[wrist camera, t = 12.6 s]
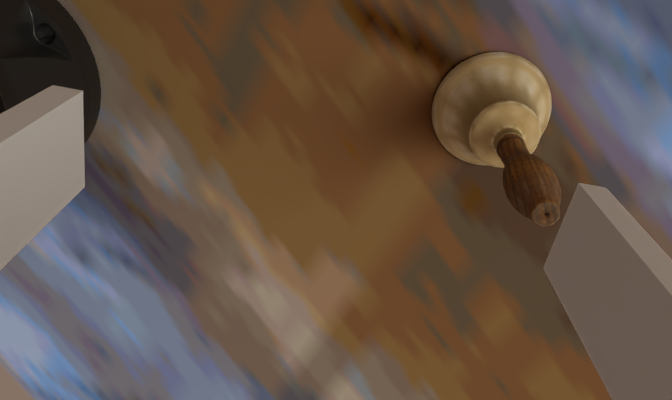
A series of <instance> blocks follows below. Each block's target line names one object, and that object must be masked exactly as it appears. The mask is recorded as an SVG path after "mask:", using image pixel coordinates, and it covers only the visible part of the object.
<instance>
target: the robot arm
mask: <svg viewBox="0 0 672 400" xmlns="http://www.w3.org/2000/svg"><path fill="white" fill-rule="evenodd" d="M100 101H101V88H100V79H99V73H98V69H97V65H96V62H95V59H94V56H93V53H92V51H91V48H90V46H89V44H88V42H87V40H86V38H85V36H84V35H83V33H82V31H81V30H80V28H79V26H78V25H77V23H76V22H75V21H74V19H73V18H72V17H71V15H70V14H69V13H68V12H67V11H66V10H65V8H64V7H63V6H62V5H61V4H60V3H59V2H58V1H57V0H0V270H1V269H2V268H3V267H4V266H5V265H6V264H7V263H8V262H9V261H10V260H11V259H12V258H13V257H14V256H15V255H16V254H17V253H18V252H19V251H20V250H21V249H22V248H23V247H24V246H25V245H26V244H27V243H28V242H29V241H30V240H31V239H32V238H33V237H34V236H35V235H36V234H37V233H38V232H39V231H41V230H42V229H43V228H44V227H45V226H46V225H47V224H48V223H49V222H50V221H51V220H52V219H53V218H54V217H55V216H56V215H57V214H58V213H59V212H60V211H61V210H62V209H63V208H64V207H65V206H66V205H67V204H68V203H69V202H70V201H71V200H72V199H73V198H74V197H75V196H76V195H77V194H78V193H79V192H80V191H81V190H82V189H83V188H84V187H85V169H84V144H85V142H86V141H87V140H88V138H89V137H90V135H91V133H92V131H93V129H94V127H95V124H96V122H97V118H98V114H99V109H100ZM543 269H544V271H545V273H546V275H547V277H548V278H549V280H550V282H551V284H552V286H553V288H554V290H555V292H556V294H557V296H558V297H559V299H560V301H561V303H562V305H563V307H564V309H565V311H566V313H567V315H568V317H569V318H570V320H571V322H572V324H573V326H574V328H575V330H576V332H577V334H578V336H579V338H580V339H581V341H582V343H583V345H584V347H585V349H586V351H587V353H588V355H589V357H590V358H591V360H592V362H593V364H594V366H595V368H596V370H597V372H598V374H599V376H600V378H601V379H602V381H603V383H604V385H605V387H606V389H607V391H608V393H609V395H610V397H611V398H612V400H672V259H671V258H670V257H669V256H668V255H667V254H666V253H665V252H664V251H663V250H662V249H661V247H660V246H659V245H658V244H657V243H656V242H655V241H654V240H653V239H652V238H651V236H650V235H649V234H648V233H647V232H646V231H645V230H644V229H643V228H642V227H641V226H640V224H639V223H638V222H637V221H636V220H635V219H634V218H633V217H632V216H631V215H630V213H629V212H628V211H627V210H626V209H625V208H624V207H623V206H622V205H621V204H620V202H619V201H618V200H617V199H616V198H615V197H614V196H613V195H612V194H611V193H610V192H609V190H608V189H607V188H604V187H598V186H593V185H588V184H582V183H578V185H577V188H576V190H575V193H574V195H573V197H572V200H571V202H570V205H569V207H568V209H567V212H566V214H565V217H564V219H563V221H562V224H561V226H560V229H559V231H558V233H557V236H556V238H555V241H554V243H553V246H552V248H551V250H550V253H549V255H548V258H547V260H546V262H545V265H544V267H543Z"/></svg>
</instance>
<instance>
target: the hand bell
mask: <svg viewBox="0 0 672 400" xmlns="http://www.w3.org/2000/svg"><path fill="white" fill-rule="evenodd" d="M551 107H552V98H551V92H550V88H549V86H548V83H547V81H546V79H545V77H544V75H543V74H542V73H541V72H540V70H539V69H538V68H537V67H536V66H535V65H534V64H533V63H531V62H530V61H528V60H527V59H525V58H523V57H521V56H518V55H515V54H511V53H507V52H488V53H483V54H479V55H476V56H473V57H471V58H469V59H467V60H465V61H463V62H461V63H460V64H458V65H457V66H456V67H455V68H454V69H452V70H451V71H450V72H449V73H448V74H447V76H446V77H445V78H444V79H443V81H442V82H441V84H440V85H439V87H438V89H437V92H436V94H435V97H434V100H433V104H432V123H433V128H434V131H435V133H436V135H437V138H438V139H439V141H440V143H441V144H442V145H443V146H444V148H445V149H446V150H447V151H448V152H449V153H451V154H452V155H453V156H455V157H457V158H459V159H460V160H462V161H465V162H468V163H471V164H476V165H490V166H493V167H504V171H503V186H504V190H505V193H506V195H507V197H508V199H509V201H510V203H511V204H512V206H513V207H514V208H515V209H516V210H517V211H518V212H519V213H520V214H522V215H524V216H525V217H527V218H529V219H531V220H532V221H533V222H534V223H535V224H537V225H539V226H544V227H545V226H550V225H552V224H554V223H555V222H556V221H557V220H558V219H559V217H560V202H561V189H560V184H559V181H558V179H557V177H556V175H555V174H554V172H553V170H552V169H551V168H550V167H549V165H548V164H546V163H545V162H544V161H543V160H542V159H541V158H539V157H537V156H535V155H533V154H532V153H533V151H534V150H535V149H536V147H537V145H538V143H539V139H540V137H541V136H542V134H543V132H544V131H545V129H546V127H547V124H548V122H549V118H550V114H551Z"/></svg>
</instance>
